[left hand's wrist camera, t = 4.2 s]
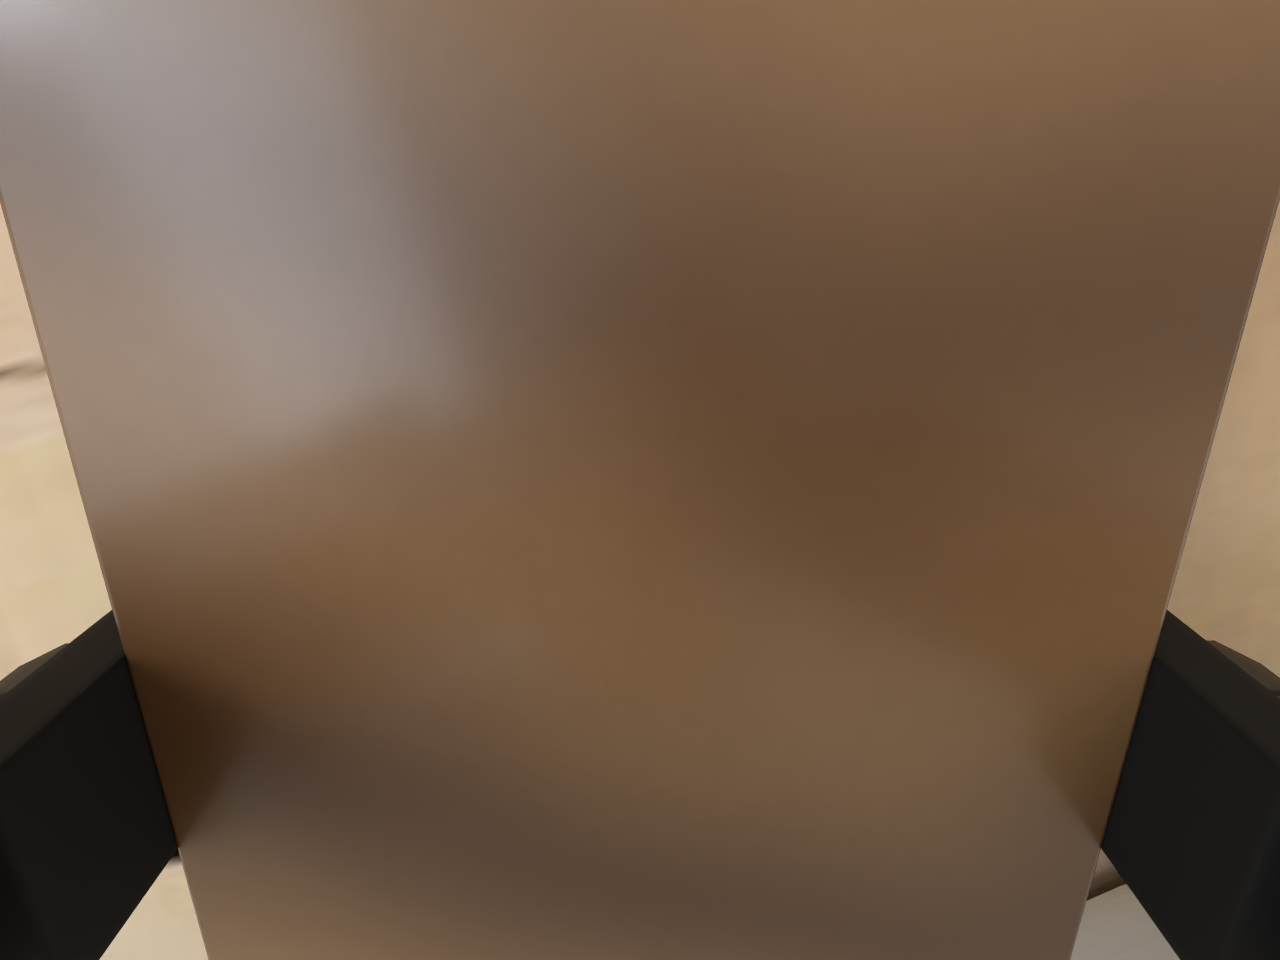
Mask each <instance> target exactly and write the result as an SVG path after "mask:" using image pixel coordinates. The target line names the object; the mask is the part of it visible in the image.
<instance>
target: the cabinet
mask: <svg viewBox="0 0 1280 960" xmlns="http://www.w3.org/2000/svg"><path fill="white" fill-rule="evenodd" d="M1279 199H1280V0H0V203H1V206H2V210H3V214H4V217H5V221H6V225H7V228H8V232H9V236H10V239H11V243H12V246H13V250H14V254H15V257H16V261H17V265H18V268H19V272H20V276H21V279H22V283H23V286H24V290H25V294H26V297H27V301H28V305H29V308H30V312H31V316H32V319H33V323H34V326H35V330H36V334H37V337H38V341H39V345H40V348H41V352H42V356H43V359H44V363H45V366H46V370H47V374H48V377H49V381H50V385H51V388H52V392H53V396H54V399H55V403H56V406H57V410H58V414H59V417H60V421H61V425H62V428H63V432H64V436H65V439H66V443H67V446H68V450H69V454H70V457H71V461H72V465H73V468H74V472H75V476H76V479H77V483H78V486H79V490H80V494H81V497H82V501H83V505H84V508H85V512H86V515H87V519H88V523H89V526H90V530H91V534H92V537H93V541H94V545H95V548H96V552H97V555H98V559H99V563H100V566H101V570H102V574H103V577H104V581H105V585H106V588H107V592H108V595H109V599H110V603H111V606H112V610H113V614H114V617H115V621H116V625H117V628H118V632H119V635H120V639H121V643H122V646H123V650H124V654H125V657H126V661H127V665H128V668H129V672H130V675H131V679H132V683H133V686H134V690H135V694H136V697H137V701H138V705H139V708H140V712H141V715H142V719H143V723H144V726H145V730H146V734H147V737H148V741H149V745H150V748H151V752H152V755H153V759H154V763H155V766H156V770H157V774H158V777H159V781H160V785H161V788H162V792H163V795H164V799H165V803H166V806H167V810H168V814H169V817H170V821H171V825H172V828H173V832H174V835H175V839H176V843H177V846H178V850H179V854H180V857H181V861H182V864H183V868H184V872H185V875H186V879H187V883H188V886H189V890H190V894H191V897H192V901H193V904H194V908H195V912H196V915H197V919H198V923H199V926H200V930H201V934H202V937H203V941H204V944H205V948H206V952H207V955H208V959H209V960H1070V959H1071V955H1072V952H1073V948H1074V944H1075V941H1076V937H1077V933H1078V930H1079V926H1080V922H1081V919H1082V915H1083V912H1084V908H1085V904H1086V901H1087V897H1088V893H1089V890H1090V886H1091V882H1092V879H1093V875H1094V872H1095V868H1096V864H1097V861H1098V857H1099V853H1100V850H1101V846H1102V843H1103V839H1104V835H1105V832H1106V828H1107V824H1108V821H1109V817H1110V813H1111V810H1112V806H1113V803H1114V799H1115V795H1116V792H1117V788H1118V784H1119V781H1120V777H1121V773H1122V770H1123V766H1124V763H1125V759H1126V755H1127V752H1128V748H1129V744H1130V741H1131V737H1132V733H1133V730H1134V726H1135V723H1136V719H1137V715H1138V712H1139V708H1140V704H1141V701H1142V697H1143V693H1144V690H1145V686H1146V683H1147V679H1148V675H1149V672H1150V668H1151V664H1152V661H1153V657H1154V654H1155V650H1156V646H1157V643H1158V639H1159V635H1160V632H1161V628H1162V624H1163V621H1164V617H1165V614H1166V610H1167V606H1168V603H1169V599H1170V595H1171V592H1172V588H1173V584H1174V581H1175V577H1176V574H1177V570H1178V566H1179V563H1180V559H1181V555H1182V552H1183V548H1184V544H1185V541H1186V537H1187V534H1188V530H1189V526H1190V523H1191V519H1192V515H1193V512H1194V508H1195V504H1196V501H1197V497H1198V494H1199V490H1200V486H1201V483H1202V479H1203V475H1204V472H1205V468H1206V465H1207V461H1208V457H1209V454H1210V450H1211V446H1212V443H1213V439H1214V435H1215V432H1216V428H1217V425H1218V421H1219V417H1220V414H1221V410H1222V406H1223V403H1224V399H1225V395H1226V392H1227V388H1228V385H1229V381H1230V377H1231V374H1232V370H1233V366H1234V363H1235V359H1236V355H1237V352H1238V348H1239V345H1240V341H1241V337H1242V334H1243V330H1244V326H1245V323H1246V319H1247V315H1248V312H1249V308H1250V305H1251V301H1252V297H1253V294H1254V290H1255V286H1256V283H1257V279H1258V276H1259V272H1260V268H1261V265H1262V261H1263V257H1264V254H1265V250H1266V246H1267V243H1268V239H1269V236H1270V232H1271V228H1272V225H1273V221H1274V217H1275V214H1276V210H1277V206H1278V203H1279Z"/></svg>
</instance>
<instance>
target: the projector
mask: <svg viewBox="0 0 1280 960" xmlns="http://www.w3.org/2000/svg"><path fill="white" fill-rule="evenodd" d="M1070 960H1180V959H1179V958H1178V956H1177V955H1176V953H1175V952H1174V951H1173V949H1172V948H1171V946H1170V945H1169V943H1168V942H1167V941H1166V939H1165V938H1164V936H1163V935H1162V934H1161V932H1160V931H1159V929H1158V928H1157V926H1156V925H1155V924H1154V922H1153V921H1152V919H1151V918H1150V917H1149V915H1148V914H1147V912H1146V911H1145V909H1144V908H1143V907H1142V905H1141V904H1140V902H1139V901H1138V900H1137V898H1136V897H1135V895H1134V894H1133V892H1132V891H1131V890H1130V888H1129V887H1128V885H1127V884H1124V885H1122V886H1119V887H1117V888H1115V889H1112V890H1110V891H1108V892H1106V893H1103V894H1101V895H1099V896H1096V897H1094V898H1092V899H1090V900H1087V901H1086V904H1085V908H1084V912H1083V915H1082V919H1081V922H1080V926H1079V930H1078V933H1077V937H1076V941H1075V944H1074V948H1073V952H1072V955H1071V959H1070Z"/></svg>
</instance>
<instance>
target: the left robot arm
mask: <svg viewBox="0 0 1280 960" xmlns="http://www.w3.org/2000/svg"><path fill="white" fill-rule="evenodd" d="M177 849H178V846H177V843H176V839H175V835H174V832H173V828H172V825H171V821H170V817H169V814H168V810H167V806H166V803H165V799H164V795H163V792H162V788H161V785H160V781H159V777H158V774H157V770H156V766H155V763H154V759H153V755H152V752H151V748H150V745H149V741H148V737H147V734H146V730H145V726H144V723H143V719H142V715H141V712H140V708H139V705H138V701H137V697H136V694H135V690H134V686H133V683H132V679H131V675H130V672H129V668H128V665H127V661H126V657H125V654H124V650H123V646H122V643H121V639H120V635H119V632H118V628H117V625H116V621H115V617H114V614H113V610H111V611H110V612H109V613H107V614H106V615H105V616H104V617H102V618H101V619H100V620H99V621H97V622H96V623H95V624H93V625H92V626H91V627H90V628H88V629H87V630H86V631H85V632H83V633H82V634H81V635H79V636H78V637H77V638H76V639H74V640H73V641H72V642H71V643H69V644H64V645H62V646H60V647H58V648H56V649H54V650H52V651H50V652H48V653H46V654H44V655H42V656H40V657H38V658H36V659H34V660H32V661H30V662H28V663H26V664H24V665H22V666H20V667H18V668H17V669H16V670H14V671H13V672H12V673H10V674H9V675H8V676H6V677H5V678H4V679H2V680H1V681H0V960H99V959H100V958H101V956H102V955H103V954H104V952H105V951H106V949H107V948H108V946H109V945H110V944H111V942H112V941H113V939H114V938H115V937H116V935H117V934H118V932H119V931H120V929H121V928H122V927H123V925H124V924H125V922H126V921H127V920H128V918H129V917H130V915H131V914H132V912H133V911H134V910H135V908H136V907H137V905H138V904H139V903H140V901H141V900H142V898H143V897H144V895H145V894H146V893H147V891H148V890H149V888H150V887H151V886H152V884H153V883H154V881H155V880H156V878H157V877H158V876H159V874H160V873H161V871H162V870H163V869H164V867H165V866H166V864H167V863H168V861H169V860H170V859H171V857H172V856H173V854H174V853H175V852H176V850H177ZM1101 849H1102V850H1103V851H1104V853H1105V854H1106V856H1107V857H1108V858H1109V860H1110V861H1111V863H1112V864H1113V866H1114V867H1115V868H1116V870H1117V871H1118V873H1119V874H1120V875H1121V877H1122V878H1123V880H1124V881H1125V883H1126V884H1127V885H1128V887H1129V888H1130V890H1131V891H1132V892H1133V894H1134V895H1135V897H1136V898H1137V900H1138V901H1139V902H1140V904H1141V905H1142V907H1143V908H1144V909H1145V911H1146V912H1147V914H1148V915H1149V917H1150V918H1151V919H1152V921H1153V922H1154V924H1155V925H1156V926H1157V928H1158V929H1159V931H1160V932H1161V934H1162V935H1163V936H1164V938H1165V939H1166V941H1167V942H1168V943H1169V945H1170V946H1171V948H1172V949H1173V951H1174V952H1175V953H1176V955H1177V956H1178V958H1179V959H1180V960H1280V678H1279V677H1278V676H1276V675H1275V674H1274V673H1272V672H1271V671H1270V670H1268V669H1267V668H1266V667H1264V666H1263V665H1262V664H1260V663H1258V662H1256V661H1254V660H1252V659H1250V658H1248V657H1246V656H1244V655H1242V654H1240V653H1238V652H1236V651H1234V650H1232V649H1230V648H1228V647H1226V646H1224V645H1222V644H1220V643H1218V642H1216V641H1206V640H1205V639H1203V638H1202V637H1201V636H1200V635H1198V634H1197V633H1196V632H1194V631H1193V630H1192V629H1191V628H1189V627H1188V626H1187V625H1186V624H1184V623H1183V622H1182V621H1181V620H1179V619H1178V618H1177V617H1175V616H1174V615H1173V614H1172V613H1170V612H1169V611H1168V610H1166V614H1165V617H1164V621H1163V624H1162V628H1161V632H1160V635H1159V639H1158V643H1157V646H1156V650H1155V654H1154V657H1153V661H1152V664H1151V668H1150V672H1149V675H1148V679H1147V683H1146V686H1145V690H1144V693H1143V697H1142V701H1141V704H1140V708H1139V712H1138V715H1137V719H1136V723H1135V726H1134V730H1133V733H1132V737H1131V741H1130V744H1129V748H1128V752H1127V755H1126V759H1125V763H1124V766H1123V770H1122V773H1121V777H1120V781H1119V784H1118V788H1117V792H1116V795H1115V799H1114V803H1113V806H1112V810H1111V813H1110V817H1109V821H1108V824H1107V828H1106V832H1105V835H1104V839H1103V843H1102V846H1101Z"/></svg>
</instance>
